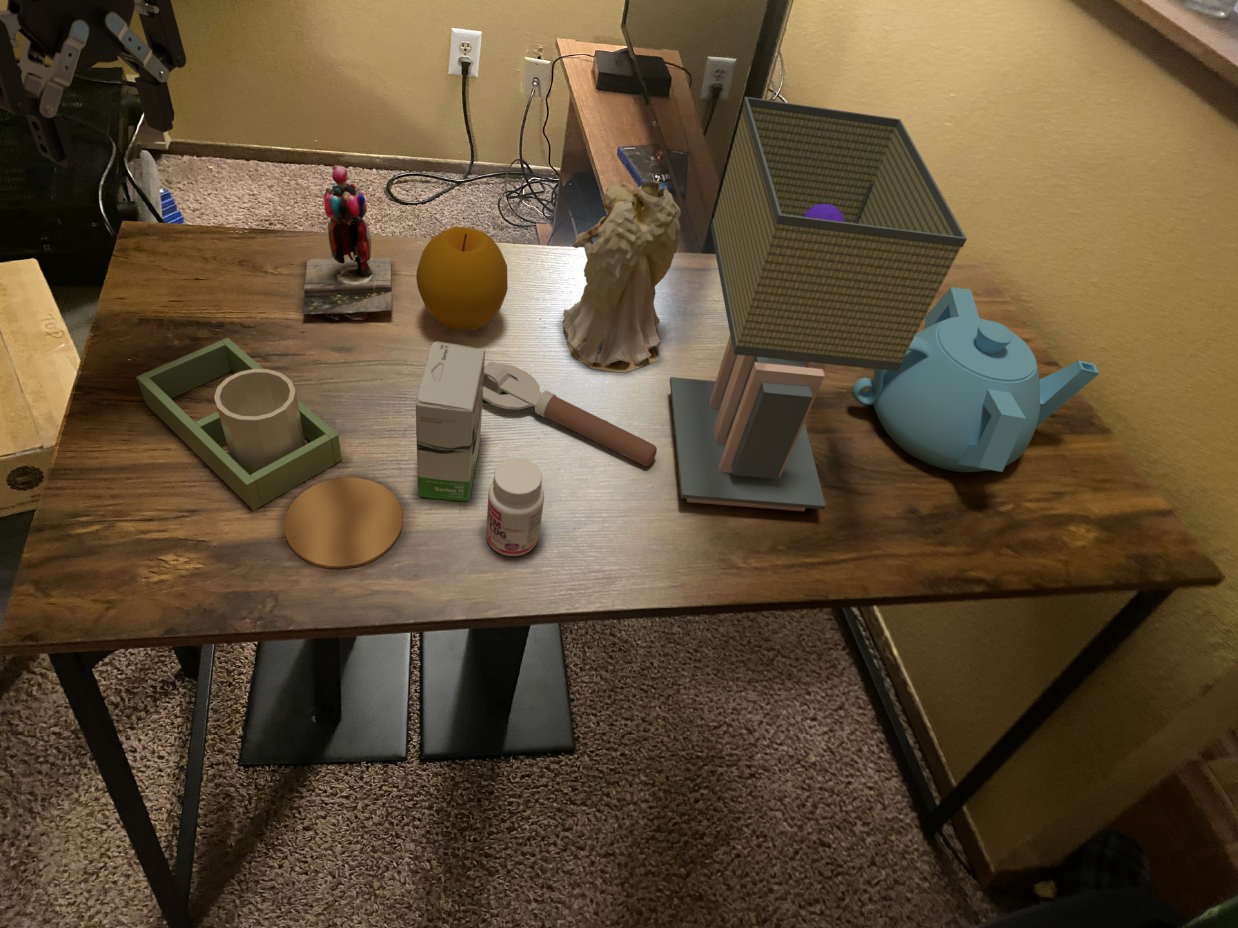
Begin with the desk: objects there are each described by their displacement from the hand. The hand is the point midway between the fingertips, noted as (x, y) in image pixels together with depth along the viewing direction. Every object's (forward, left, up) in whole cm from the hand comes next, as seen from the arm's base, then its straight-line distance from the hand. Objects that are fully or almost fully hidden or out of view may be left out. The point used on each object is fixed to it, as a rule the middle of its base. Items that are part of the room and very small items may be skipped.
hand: (114, 145), depth 64 cm
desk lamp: (+48, -28, -25) cm, 61 cm away
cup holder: (+3, -8, -25) cm, 26 cm away
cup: (+5, -12, -25) cm, 28 cm away
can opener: (+33, -17, -25) cm, 45 cm away
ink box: (+20, -19, -25) cm, 37 cm away
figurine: (+44, -7, -25) cm, 51 cm away
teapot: (+74, -33, -25) cm, 85 cm away
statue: (+19, +10, -25) cm, 33 cm away
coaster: (+9, -22, -25) cm, 34 cm away
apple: (+29, +1, -25) cm, 38 cm away
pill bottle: (+22, -29, -25) cm, 44 cm away
